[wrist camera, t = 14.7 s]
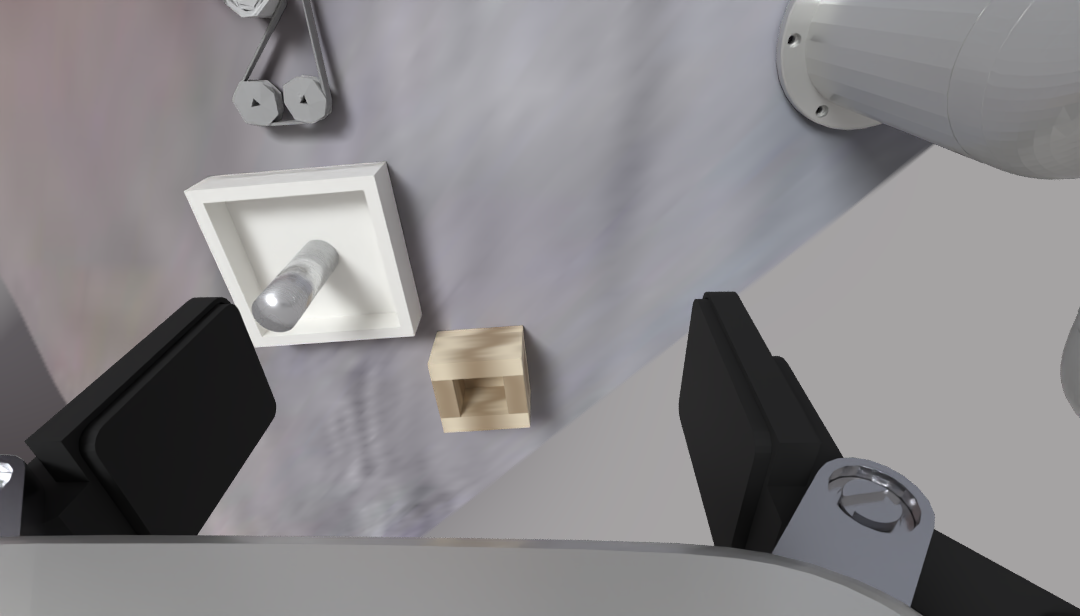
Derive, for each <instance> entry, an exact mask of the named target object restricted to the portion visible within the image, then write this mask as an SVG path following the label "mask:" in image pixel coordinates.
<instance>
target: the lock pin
mask: <svg viewBox="0 0 1080 616" xmlns="http://www.w3.org/2000/svg"><path fill="white" fill-rule="evenodd" d="M338 263H339V255H338V252H337V251H336V249H335V248H334V247H333V246H332V245H331V244H329V243H328V242H326V241H323V240H311V241H309V242H307V243H306V244H305V245H304V246H303V247H302V248H301V250H300V251H299V252H298V253H297V254H296V255H295V256H294V257H293V258H292V260H291V261H290V262H289V263H288V264H287V265H286V266H285V267H284V268H283V270H282V271H281V272H280V273H279V274H278V275H277V276H276V277H275V279H274V280H273V281H272V282H271V283H270V284H269V285H268V286H267V287H266V289H265V290H264V291H263V292H262V293H261V294H260V295H259V296H258V297H257V299H256V300H255V301H254V302H253V304H252V314H253V317H254V319H255V320H256V321H257V322H258V323H259V324H260V325H261V326H262V327H264V328H266V329H268V330H270V331H273V332H286V331H289V330H291V329H292V328H293V327H294V326H295V325H296V323H297V322H298V320H299V319H300V318H301V316H302V315H303V313H304V312H305V311H306V309H307V308H308V306H309V305H310V304H311V302H312V301H313V299H314V298H315V297H316V295H317V294H318V292H319V291H320V290H321V288H322V287H323V285H324V284H325V283H326V281H327V280H328V278H329V277H330V276H331V274H332V273H333V271H334V270H335V269H336V267H337V266H338Z"/></svg>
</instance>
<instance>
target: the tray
mask: <svg viewBox="0 0 1080 616" xmlns="http://www.w3.org/2000/svg"><path fill="white" fill-rule="evenodd" d="M184 193H185V195H186V197H187V199H188V201H189V204H190V206H191V208H192V210H193V212H194V215H195V217H196V219H197V221H198V223H199V226H200V228H201V230H202V232H203V234H204V237H205V239H206V241H207V243H208V245H209V248H210V250H211V252H212V254H213V256H214V259H215V261H216V263H217V265H218V267H219V270H220V272H221V274H222V276H223V278H224V281H225V283H226V285H227V287H228V289H229V292H230V294H231V296H232V298H233V300H234V303H235V305H236V307H237V308H238V309H239V311H240V314H241V316H242V319H243V321H244V324H245V326H246V329H247V331H248V333H249V336H250V338H251V340H252V342H253V344H254V347H267V346H282V345H296V344H310V343H324V342H338V341H352V340H366V339H381V338H395V337H409V336H415V333H416V331H417V328H418V325H419V322H420V319H421V316H422V311H421V307H420V303H419V298H418V294H417V290H416V286H415V281H414V277H413V273H412V269H411V265H410V260H409V256H408V252H407V248H406V244H405V239H404V235H403V231H402V227H401V223H400V218H399V214H398V210H397V206H396V202H395V197H394V193H393V189H392V185H391V180H390V176H389V172H388V168H387V164H386V161H384V162H372V163H361V164H349V165H337V166H325V167H313V168H301V169H289V170H278V171H266V172H254V173H242V174H230V175H218V176H209V177H207V178H206V179H204V180H202V181H201V182H199V183H197V184H195V185H194V186H192V187H190V188H189V189H187V190H185V191H184ZM311 240H323V241H326V242H328V243H329V244H331V245H332V246H333V247H334V248H335V249H336V251H337V252H338V255H339V263H338V266H337V267H336V269H335V270H334V271H333V273H332V274H331V276H330V277H329V278H328V280H327V281H326V283H325V284H324V285H323V287H322V288H321V290H320V291H319V292H318V294H317V295H316V297H315V298H314V299H313V301H312V302H311V304H310V305H309V306H308V308H307V309H306V311H305V312H304V313H303V315H302V316H301V318H300V319H299V320H298V322H297V323H296V325H295V326H294V327H293V328H292V329H291V330H289V331H286V332H273V331H270V330H268V329H266V328H264V327H262V326H261V325H260V324H259V323H258V322H257V321H256V320H255V319H254V317H253V314H252V304H253V302H254V301H255V300H256V299H257V297H258V296H259V295H260V294H261V293H262V292H263V291H264V290H265V289H266V287H267V286H268V285H269V284H270V283H271V282H272V281H273V280H274V279H275V277H276V276H277V275H278V274H279V273H280V272H281V271H282V270H283V268H284V267H285V266H286V265H287V264H288V263H289V262H290V261H291V260H292V258H293V257H294V256H295V255H296V254H297V253H298V252H299V251H300V250H301V248H302V247H303V246H304V245H305V244H306V243H307V242H309V241H311Z"/></svg>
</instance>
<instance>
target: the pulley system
mask: <svg viewBox="0 0 1080 616" xmlns="http://www.w3.org/2000/svg"><path fill="white" fill-rule="evenodd" d="M224 3H225V4H226V5H227V6H228V7H230V8H231V9H232V10H233V11H234V12H235V13H237V14H238V15H239V16H241V17H251V18H272V19H271V21H270V23H269V25H268V27H267V30H266V32H265V34H264V36H263V38H262V40H261V42H260V44H259V46H258V48H257V50H256V52H255V54H254V56H253V58H252V61H251V63H250V65H249V67H248V69H247V71H246V73H245V75H244V77H243V79H242V81H240V83H239V84H238V86H237V88H236V90H235V93H234V96H233V99H232V101H233V103H234V105H235V106H236V108H237V110H238V111H239V113H240V114H241V116H242V118H243V119H244V121H245V123H247V124H251V125H256V126H277V125H293V124H308V123H311V124H314V123H316V122H318V121H320V120H323V119H325V118H326V116H328V115H329V114H330V113H331V111H332V98H331V93H330V89H329V84H328V80H327V75H326V71H325V66H324V62H323V57H322V53H321V48H320V44H319V39H318V35H317V31H316V26H315V22H314V17H313V13H312V8H311V4H310V0H302V3H303V8H304V12H305V17H306V21H307V26H308V30H309V34H310V39H311V43H312V48H313V52H314V57H315V61H316V66H317V70H318V75H319V79H320V80H319V79H318V78H317V77H313V76H308V75H302V76H300V77H295V78H294V79H292V80H291V81H289V82H288V83H286V84H285V85H283V94H284V103H285V105H286V107H287V108H288V110H289V111H290V113H291V114H292V116H293V117H294V119H295V120H290V121H280V120H281V119H282V115H283V111H284V108H283V100H282V93H281V92H280V91H279V90H278V89H277V88H276V87H275V86H274V85H273V84H271V83H270V82H269V81H268V80H248V78H249V77H250V75H251V73H252V71H253V69H254V67H255V65H256V63H257V61H258V59H259V57H260V55H261V53H262V52H263V50H264V48H265V46H266V44H267V42H268V40H269V38H270V36H271V34H272V32H273V30H274V28H275V27H276V25H277V23H278V21H279V19H280V17H281V15H282V13H283V11H284V9H285V7H286V5H287V1H286V0H224ZM247 80H248V81H247Z"/></svg>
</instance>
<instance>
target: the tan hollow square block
mask: <svg viewBox="0 0 1080 616" xmlns="http://www.w3.org/2000/svg"><path fill="white" fill-rule="evenodd" d="M428 369H429V373H430V377H431V381H432V385H433V389H434V393H435V397H436V401H437V405H438V409H439V413H440V417H441V421H442V425H443V429H444V433H449V432H465V431H480V430H496V429H512V428H528V427H530V400H531V390H530V382H529V374H528V365H527V357H526V349H525V340H524V332H523V325H522V326H508V327H494V328H479V329H465V330H451V331H437V334H436V337H435V341H434V344H433V348H432V351H431V354H430V358H429V361H428Z"/></svg>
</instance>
